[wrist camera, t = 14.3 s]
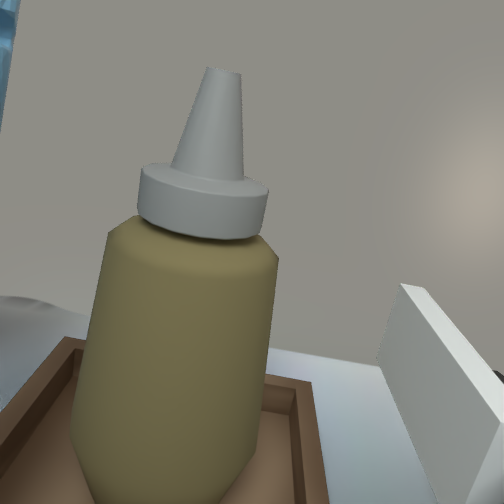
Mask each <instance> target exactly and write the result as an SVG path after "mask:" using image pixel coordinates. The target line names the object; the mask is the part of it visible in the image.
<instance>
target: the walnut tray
mask: <svg viewBox="0 0 504 504" xmlns="http://www.w3.org/2000/svg"><path fill="white" fill-rule="evenodd" d="M85 343H86V340H82V339H76V338H71V337H64V338H63V339H62V340H61V341H60V343H59V344H58V345H57V346H56V347H55V349H54V350H53V351H52V352H51V353H50V355H49V356H48V357H47V358H46V359H45V360H44V362H43V363H42V364H41V365H40V366H39V368H38V369H37V370H36V371H35V372H34V374H33V375H32V376H31V377H30V378H29V379H28V381H27V382H26V383H25V384H24V385H23V387H22V388H21V389H20V390H19V391H18V393H17V394H16V395H15V396H14V397H13V398H12V400H11V401H10V402H9V403H8V404H7V406H6V407H5V408H4V409H3V410H2V412H1V413H0V504H95V502H94V500H93V498H92V496H91V493H90V491H89V488H88V485H87V483H86V480H85V477H84V475H83V472H82V469H81V467H80V464H79V461H78V459H77V456H76V453H75V451H74V448H73V445H72V443H71V440H70V437H69V433H70V423H71V412H72V406H73V401H74V396H75V392H76V387H77V382H78V377H79V372H80V367H81V363H82V358H83V353H84V348H85ZM218 504H329V497H328V491H327V484H326V478H325V471H324V464H323V458H322V451H321V444H320V438H319V431H318V425H317V418H316V411H315V405H314V398H313V392H312V385H311V382H307V381H302V380H297V379H291V378H286V377H281V376H275V375H270V374H265V380H264V389H263V397H262V406H261V414H260V423H259V431H258V438H257V446H256V453H255V454H254V455H253V457H252V458H251V459H250V461H249V462H248V464H247V465H246V466H245V468H244V469H243V470H242V472H241V473H240V475H239V476H238V477H237V479H236V480H235V481H234V483H233V484H232V486H231V487H230V488H229V490H228V491H227V492H226V494H225V495H224V497H223V498H222V499H221V501H220V502H219V503H218Z"/></svg>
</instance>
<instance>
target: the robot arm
mask: <svg viewBox="0 0 504 504" xmlns="http://www.w3.org/2000/svg"><path fill="white" fill-rule="evenodd" d="M20 1H21V0H0V130H1V123H2V117H3V110H4V103H5V97H6V91H7V84H8V78H9V71H10V65H11V58H12V51H13V44H14V38H15V34H16V27H17V21H18V14H19V7H20ZM376 358H377V361H378V363H379V366H380V368H381V370H382V373H383V375H384V377H385V380H386V382H387V384H388V387H389V389H390V391H391V394H392V396H393V398H394V401H395V403H396V405H397V408H398V410H399V412H400V415H401V417H402V419H403V422H404V424H405V426H406V429H407V431H408V433H409V436H410V438H411V440H412V443H413V445H414V447H415V450H416V452H417V454H418V457H419V459H420V461H421V464H422V466H423V468H424V471H425V473H426V476H427V478H428V480H429V483H430V485H431V487H432V490H433V492H434V494H435V497H436V499H437V501H438V504H504V376H503V375H502V374H501V373H499V372H498V371H493V370H491V368H490V367H489V366H488V365H487V364H486V362H485V361H484V360H483V359H482V358H481V357H480V355H479V354H478V353H477V352H476V351H475V349H474V348H473V347H472V346H471V345H470V343H469V342H468V341H467V340H466V338H465V337H464V336H463V335H462V334H461V332H460V331H459V330H458V329H457V327H455V325H454V324H453V323H452V322H451V320H450V319H449V318H448V317H447V315H446V314H445V313H444V312H443V311H442V309H441V308H440V307H439V306H438V305H437V304H436V302H435V301H434V300H433V299H432V297H431V296H430V295H429V294H428V293H427V291H426V290H425V289H424V288H422V287H417V286H412V285H407V284H401V283H400V285H399V288H398V291H397V295H396V298H395V301H394V304H393V307H392V310H391V313H390V317H389V320H388V323H387V326H386V329H385V332H384V335H383V339H382V342H381V345H380V348H379V351H378V354H377V357H376Z"/></svg>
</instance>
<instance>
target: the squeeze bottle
mask: <svg viewBox="0 0 504 504" xmlns="http://www.w3.org/2000/svg"><path fill="white" fill-rule="evenodd" d="M242 132H243V129H242V92H241V74H238V73H234V72H229V71H225V70H220V69H215V68H209V67H207V68H206V71H205V74H204V76H203V79H202V82H201V85H200V88H199V90H198V93H197V96H196V98H195V101H194V104H193V106H192V109H191V112H190V115H189V117H188V120H187V123H186V126H185V129H184V131H183V134H182V137H181V139H180V142H179V145H178V148H177V151H176V153H175V156H174V158H173V161H172V163H152V164H149V165H147V166H144V167H143V168H142V169H141V176H140V186H139V195H138V203H137V209H138V213H139V215H137V216H133V217H131V218H130V219H128V220H127V221H125V222H123V223H122V224H120V225H119V226H117V227H116V228H114V229H113V230H112V231H110V232H108V237H107V242H106V246H105V251H104V256H103V261H102V266H101V271H100V276H99V280H98V285H97V290H96V295H95V300H94V305H93V309H92V314H91V319H90V324H89V329H88V334H87V338H86V343H85V348H84V353H83V358H82V363H81V367H80V372H79V377H78V382H77V387H76V392H75V396H74V401H73V406H72V412H71V423H70V433H69V437H70V440H71V443H72V445H73V448H74V451H75V453H76V456H77V459H78V461H79V464H80V467H81V469H82V472H83V475H84V477H85V480H86V483H87V485H88V488H89V491H90V493H91V496H92V498H93V500H94V502H95V504H218V503H219V502H220V501H221V499H222V498H223V497H224V495H225V494H226V492H227V491H228V490H229V488H230V487H231V486H232V484H233V483H234V481H235V480H236V479H237V477H238V476H239V475H240V473H241V472H242V470H243V469H244V468H245V466H246V465H247V464H248V462H249V461H250V459H251V458H252V457H253V455H254V454H255V453H256V446H257V438H258V431H259V423H260V414H261V406H262V397H263V389H264V380H265V372H266V363H267V355H268V345H269V338H270V329H271V320H272V312H273V304H274V295H275V287H276V278H277V270H278V261H279V258H278V256H277V255H276V254H275V253H274V251H273V250H272V249H271V247H270V246H269V245H268V244H267V243H266V242H265V241H264V239H263V238H262V237H261V236H259V235H258V234H259V233H260V230H261V227H262V222H263V217H264V213H265V207H266V203H267V198H268V193H269V190H268V188H267V187H265V186H264V185H263V184H262V183H260V182H258V181H255V180H253V179H251V178H248V177H246V176H244V171H243V170H244V169H243V133H242Z"/></svg>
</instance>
